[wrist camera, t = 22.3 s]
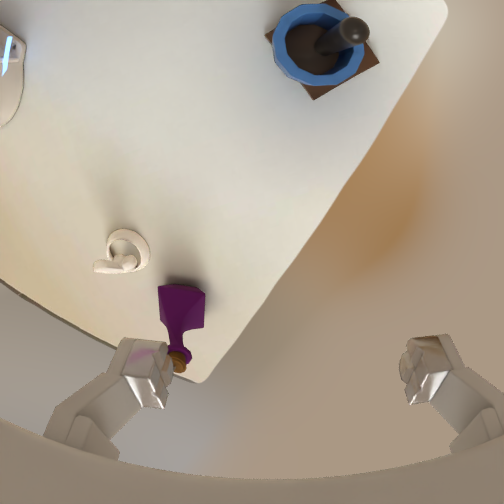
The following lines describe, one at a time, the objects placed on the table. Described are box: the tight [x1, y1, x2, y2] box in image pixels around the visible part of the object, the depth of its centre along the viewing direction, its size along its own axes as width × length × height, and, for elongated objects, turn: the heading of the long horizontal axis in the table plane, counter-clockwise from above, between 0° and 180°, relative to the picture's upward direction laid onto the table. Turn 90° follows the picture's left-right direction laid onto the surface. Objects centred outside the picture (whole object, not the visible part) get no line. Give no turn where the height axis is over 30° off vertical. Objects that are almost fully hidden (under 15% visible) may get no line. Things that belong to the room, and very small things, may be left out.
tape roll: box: [272, 4, 364, 86], centre depth 28 cm, size 9×9×7 cm
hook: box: [93, 229, 150, 274], centre depth 44 cm, size 8×12×7 cm
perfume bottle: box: [158, 284, 205, 373], centre depth 44 cm, size 8×8×18 cm
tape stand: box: [265, 0, 379, 100], centre depth 24 cm, size 10×10×16 cm
